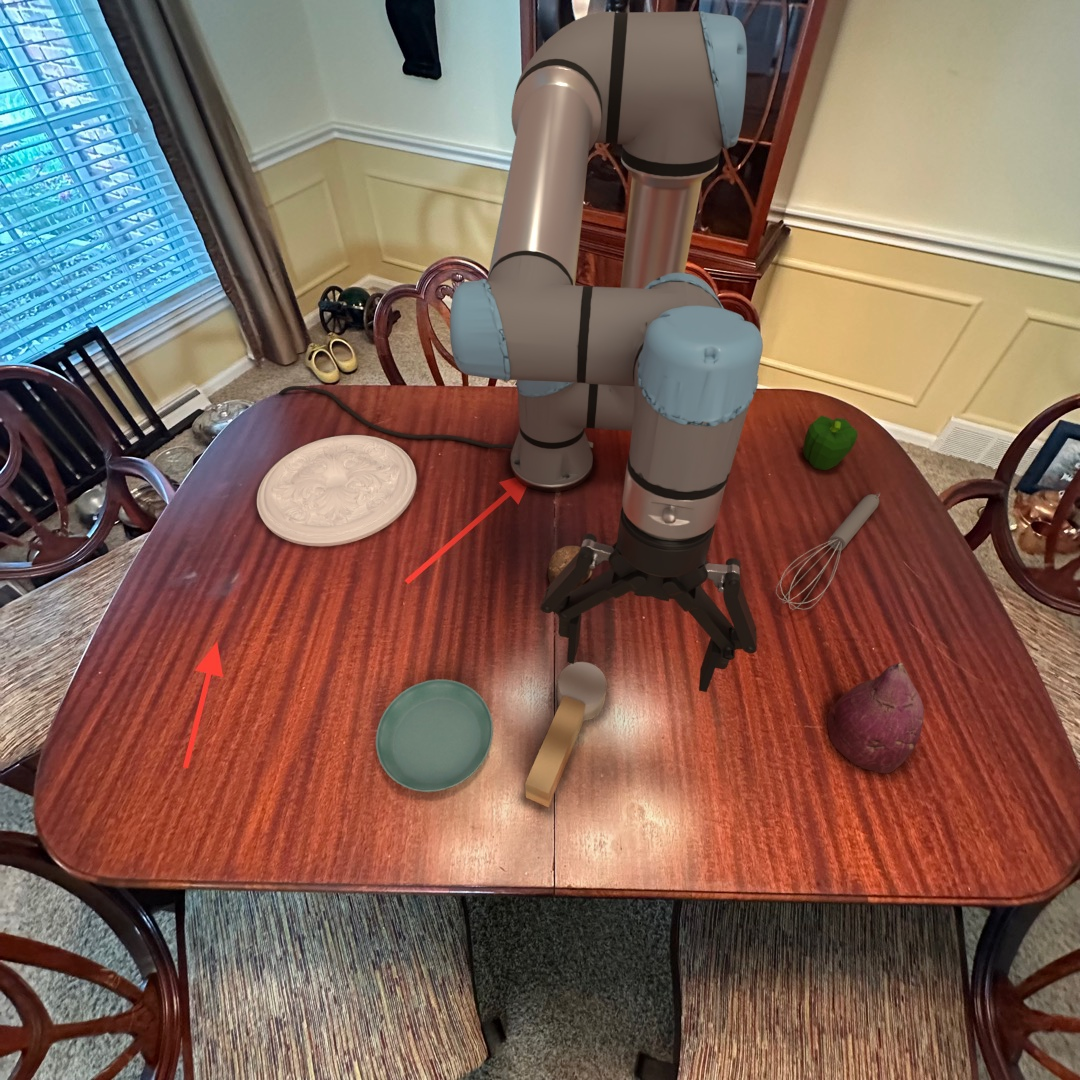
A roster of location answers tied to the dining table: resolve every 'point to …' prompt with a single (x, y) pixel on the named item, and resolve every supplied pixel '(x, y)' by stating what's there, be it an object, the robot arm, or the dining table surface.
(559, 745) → the scoop
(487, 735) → the saucer
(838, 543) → the kitchen whisk
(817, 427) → the bell pepper
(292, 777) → the dining table surface
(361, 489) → the ceiling medallion
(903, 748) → the vegetable
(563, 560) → the mushroom
